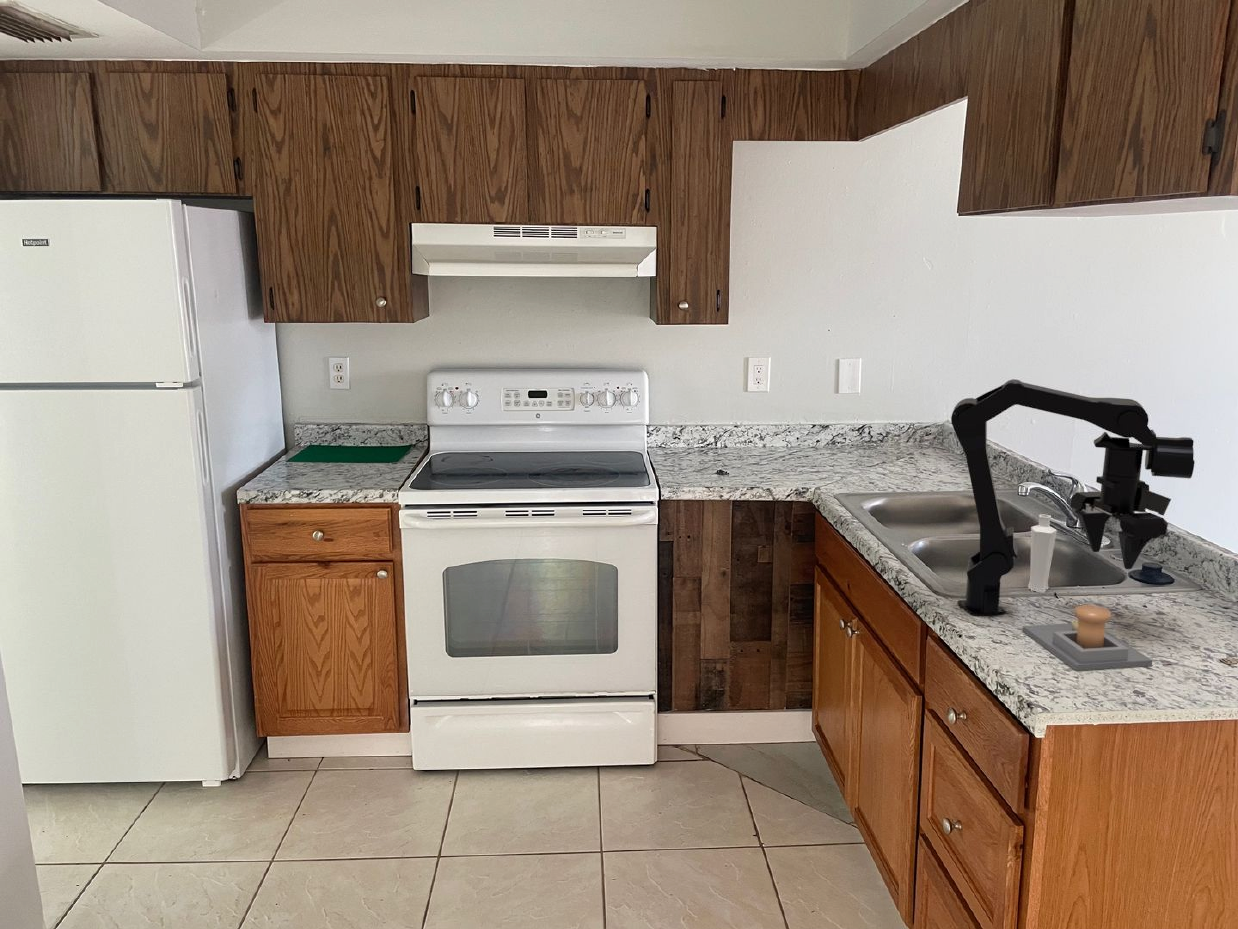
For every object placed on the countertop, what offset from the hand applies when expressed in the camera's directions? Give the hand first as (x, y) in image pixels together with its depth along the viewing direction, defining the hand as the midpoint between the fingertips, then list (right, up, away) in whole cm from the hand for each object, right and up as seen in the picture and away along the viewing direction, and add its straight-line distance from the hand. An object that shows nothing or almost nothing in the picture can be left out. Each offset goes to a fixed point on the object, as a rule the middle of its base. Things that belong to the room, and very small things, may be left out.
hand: (1111, 560), depth 167 cm
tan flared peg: (-9, -14, -11) cm, 20 cm away
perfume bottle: (-4, -8, +20) cm, 22 cm away
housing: (-8, -14, -7) cm, 18 cm away
